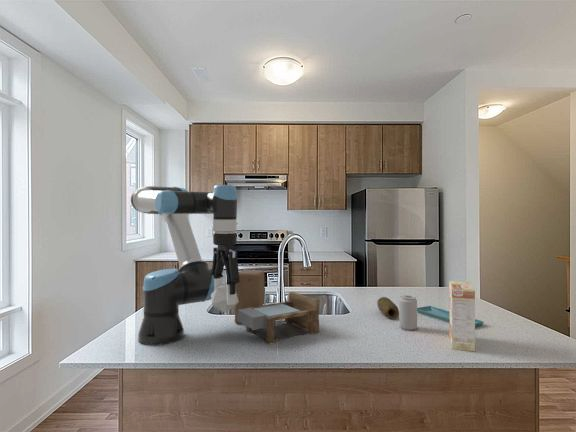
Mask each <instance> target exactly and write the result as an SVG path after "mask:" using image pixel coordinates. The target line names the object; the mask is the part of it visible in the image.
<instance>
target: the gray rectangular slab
mask: <svg viewBox="0 0 576 432" xmlns="http://www.w3.org/2000/svg"><path fill="white" fill-rule="evenodd" d="M295 312H300V310H298V309H295V308H292V307H290V306H287V305H284V304H278V305H272V306H266V307H260V308H254V309H251V308H246V309H240V310H237V321H238V322H240V323H242V324H241V325H244V326H245V327H246V326H248V327H249V328H251V329H253V330H256V329H261V328H266V327H267V319H266V316H268V317H273V316H279V315H284V314H289V313H295Z"/></svg>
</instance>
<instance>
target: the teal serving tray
mask: <svg viewBox="0 0 576 432" xmlns="http://www.w3.org/2000/svg"><path fill="white" fill-rule="evenodd" d="M417 314H420V315H423V316H427V317H430V318H434V319H437V320H439V321H443V322H446V323H449V310H445V309H442V308H439V307H436V306H432V305H426V306H419V307H417ZM482 325H484V321H483V320H480V319H476V318H475V328H477V327H482Z"/></svg>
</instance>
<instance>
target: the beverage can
mask: <svg viewBox="0 0 576 432" xmlns="http://www.w3.org/2000/svg"><path fill="white" fill-rule="evenodd" d="M416 298H417V297H416V296H414V295H407V294H406V295H404V294H403V295H400V297H399V299H398V301H399V303H398V304H399V305H398V310H399V315H398V318H399V319H398V321H399V322H398V324H399V328H401V330H405V331H415V330H416V329H418V311H417V308H418V300H417V299H416Z"/></svg>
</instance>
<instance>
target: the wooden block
mask: <svg viewBox="0 0 576 432" xmlns="http://www.w3.org/2000/svg"><path fill="white" fill-rule="evenodd" d="M239 280H240V282H239V283H237V284H236V293H237V297H238V301H239V302H238V303H237V304H236V305H235V306H234V322H235V324H238V325H243V324H242V323H240V322H238V321H237V310H240V309H246V308H248V307H256V306H262V305H263V304H264V305H265V272H264V270H254V269H251V270H249V269H243V270H240V271H239Z"/></svg>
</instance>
